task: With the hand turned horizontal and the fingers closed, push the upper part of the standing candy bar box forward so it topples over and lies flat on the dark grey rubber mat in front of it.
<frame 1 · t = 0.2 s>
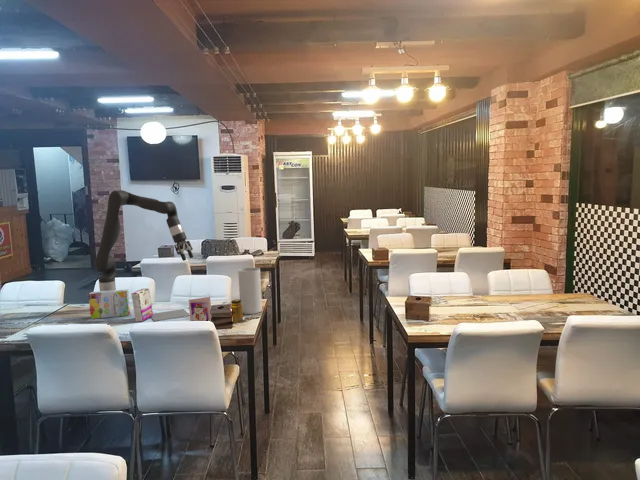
hand: (188, 259, 297), 31 cm above the table, tool tilted 20°, fingers open, 8 cm apart
greeting card: (202, 326, 268), on the table
condiment: (238, 321, 274), on the table
candy bar box: (144, 319, 286), on the table, touching mat
snack box: (110, 316, 295), on the table
cylinder vase: (251, 311, 294), on the table
mat: (169, 315, 292), on the table
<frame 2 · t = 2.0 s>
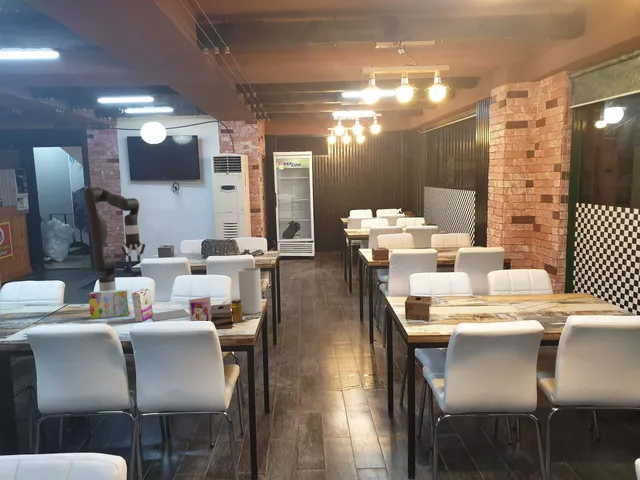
hand: (134, 261, 295), 31 cm above the table, tool pointing down, fingers open, 3 cm apart
nothing on the table moved.
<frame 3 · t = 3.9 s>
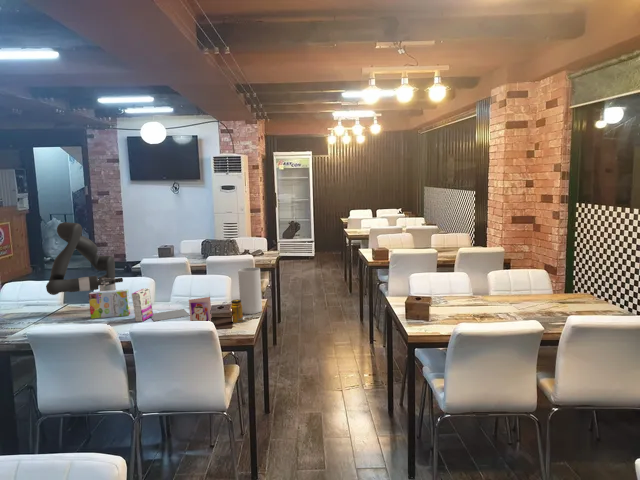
hand: (122, 279, 279), 24 cm above the table, tool horizontal, fingers closed
nothing on the table moved.
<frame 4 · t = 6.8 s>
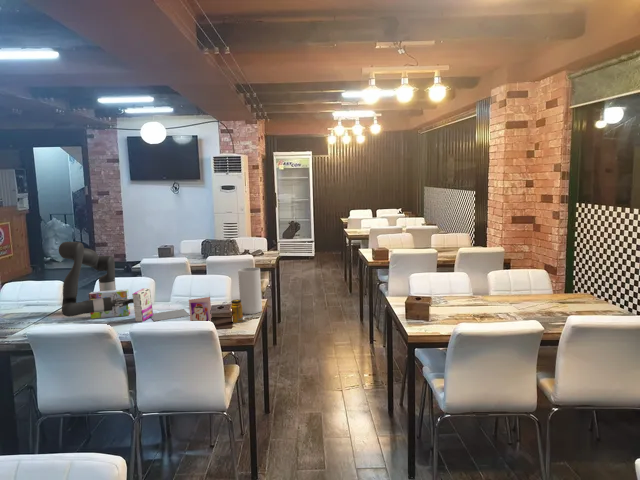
hand: (135, 300, 283), 12 cm above the table, tool horizontal, fingers closed
candy bar box: (144, 319, 286), on the table, touching gripper, mat
everything else where it was.
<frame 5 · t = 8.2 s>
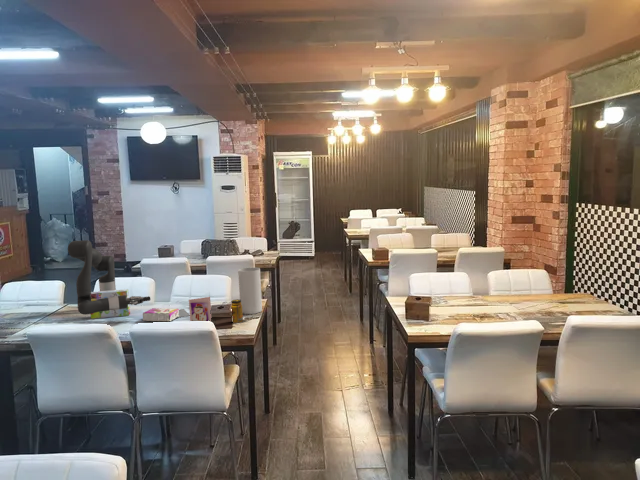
hand: (150, 298, 286), 12 cm above the table, tool horizontal, fingers closed
candy bar box: (147, 314, 285), point 3 cm above the table, touching mat
everything else where it was.
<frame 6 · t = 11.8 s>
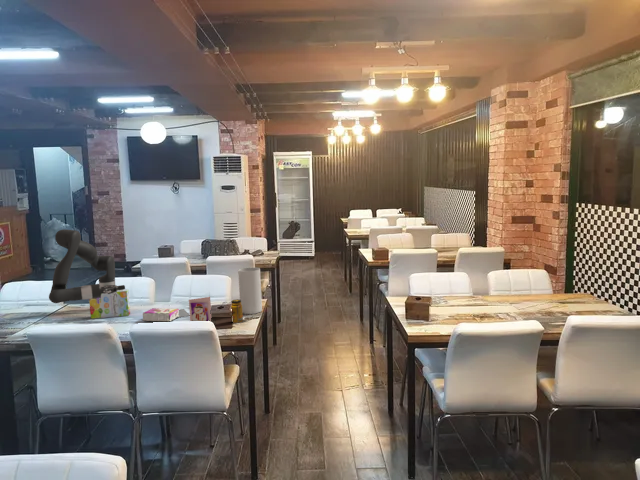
hand: (124, 287, 280), 20 cm above the table, tool horizontal, fingers closed
nothing on the table moved.
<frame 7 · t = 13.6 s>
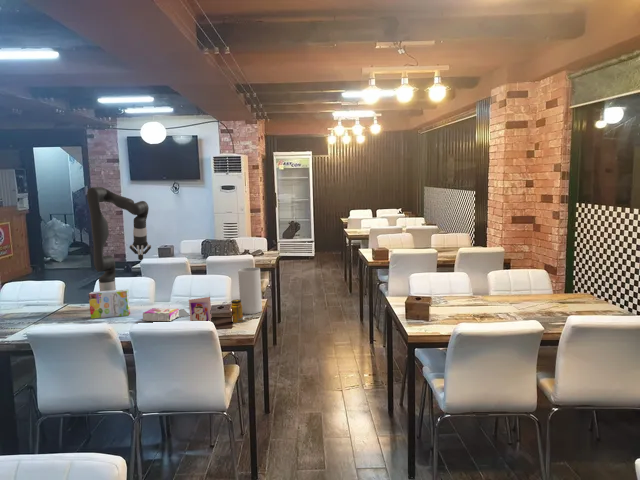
hand: (140, 259, 308), 30 cm above the table, tool tilted 20°, fingers closed
nothing on the table moved.
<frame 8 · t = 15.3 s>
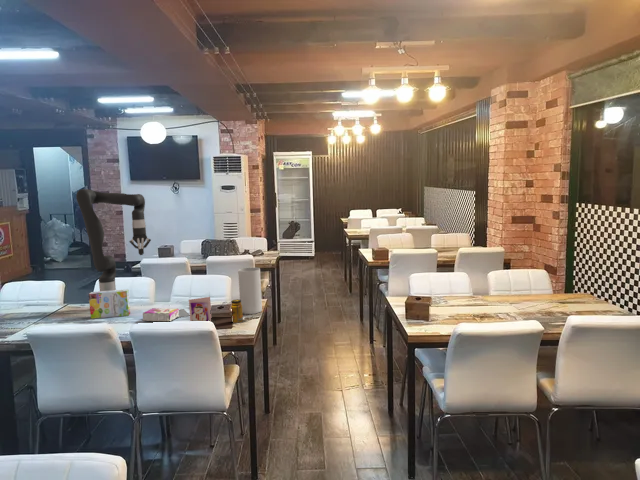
hand: (141, 254, 310), 33 cm above the table, tool pointing down, fingers closed
nothing on the table moved.
at the end: candy bar box tilted 91°; candy bar box inside the target area (10.4 cm from its centre), point 2.9 cm above the table; candy bar box touching mat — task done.
